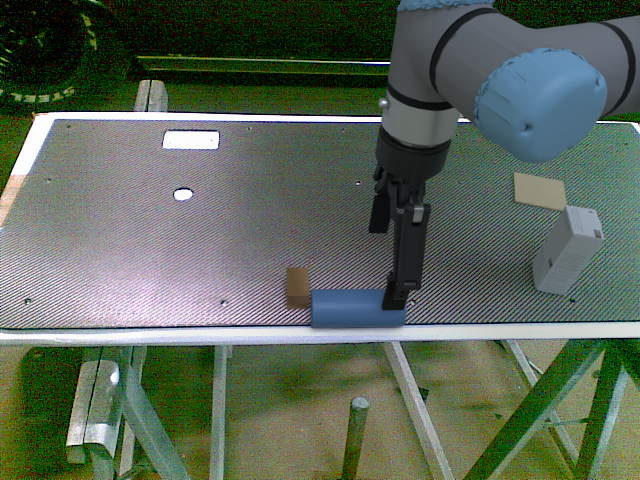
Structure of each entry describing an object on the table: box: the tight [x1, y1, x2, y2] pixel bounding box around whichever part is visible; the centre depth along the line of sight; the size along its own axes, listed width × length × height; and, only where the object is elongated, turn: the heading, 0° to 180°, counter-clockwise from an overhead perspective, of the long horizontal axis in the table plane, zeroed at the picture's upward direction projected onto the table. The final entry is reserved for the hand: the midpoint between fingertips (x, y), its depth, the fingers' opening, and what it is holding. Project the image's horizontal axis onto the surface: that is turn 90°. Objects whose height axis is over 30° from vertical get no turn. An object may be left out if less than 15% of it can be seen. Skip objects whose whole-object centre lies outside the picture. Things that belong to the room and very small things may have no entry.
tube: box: [309, 288, 407, 329], centre depth 62 cm, size 12×5×5 cm
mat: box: [512, 171, 568, 213], centre depth 86 cm, size 9×9×1 cm
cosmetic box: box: [531, 205, 605, 296], centre depth 67 cm, size 6×4×12 cm
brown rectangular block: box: [286, 267, 310, 310], centre depth 66 cm, size 3×5×3 cm, turn 3°
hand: (384, 267), depth 64 cm, fingers open, 13 cm apart
